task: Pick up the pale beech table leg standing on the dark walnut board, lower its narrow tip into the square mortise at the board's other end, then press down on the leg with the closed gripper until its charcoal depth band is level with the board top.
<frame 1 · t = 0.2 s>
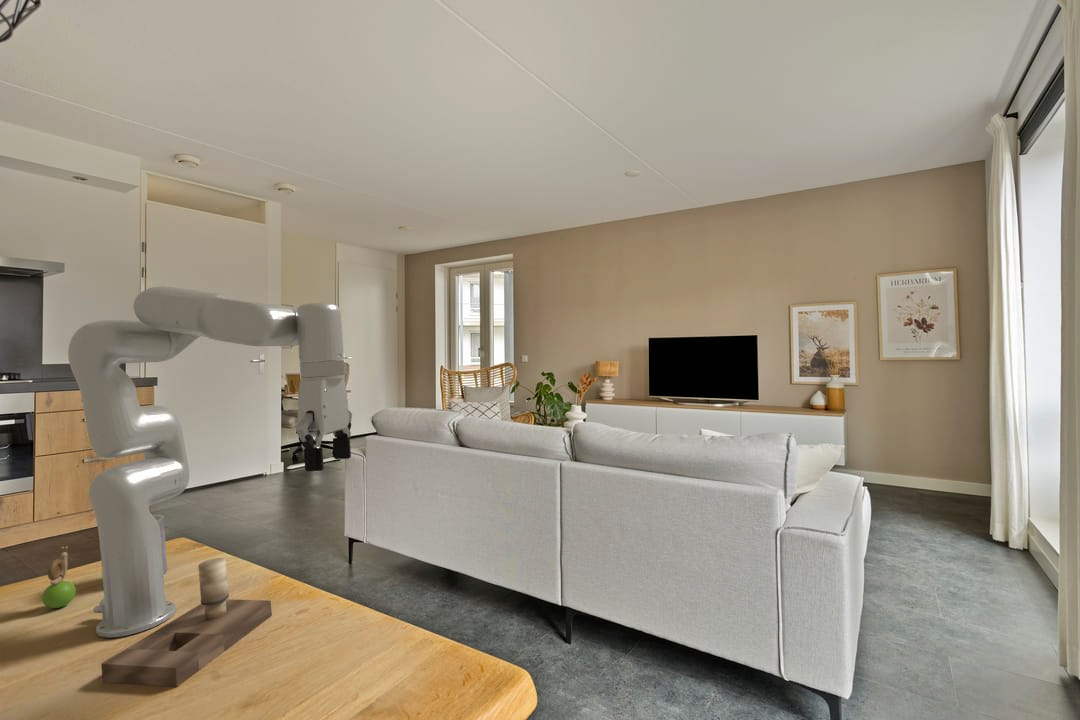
hand: (329, 464, 97), 31 cm above the table, tool pointing down, fingers open, 9 cm apart
pillar candle: (144, 577, 129), on the table
snail figurine: (61, 606, 115), on the table
walnut board: (195, 645, 95), on the table
beech leg: (216, 614, 100), point 3 cm above the table, touching walnut board
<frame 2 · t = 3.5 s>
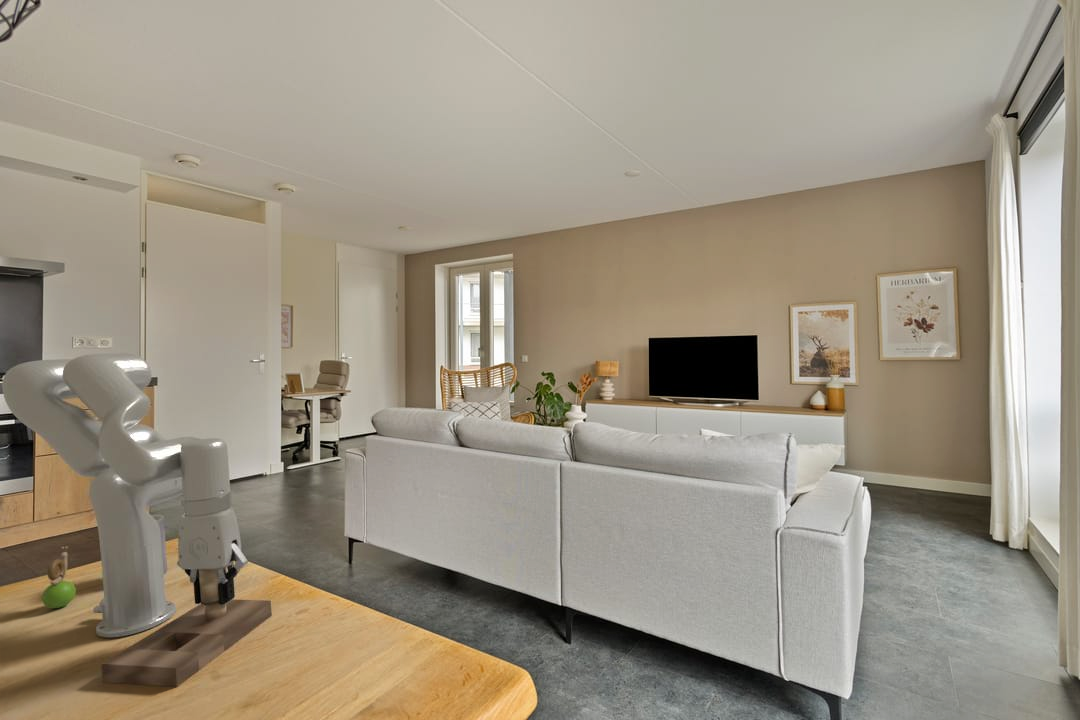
hand: (215, 599, 100), 6 cm above the table, tool pointing down, fingers closed on beech leg, 4 cm apart
beech leg: (216, 614, 100), point 3 cm above the table, touching gripper, walnut board
everything else where it was.
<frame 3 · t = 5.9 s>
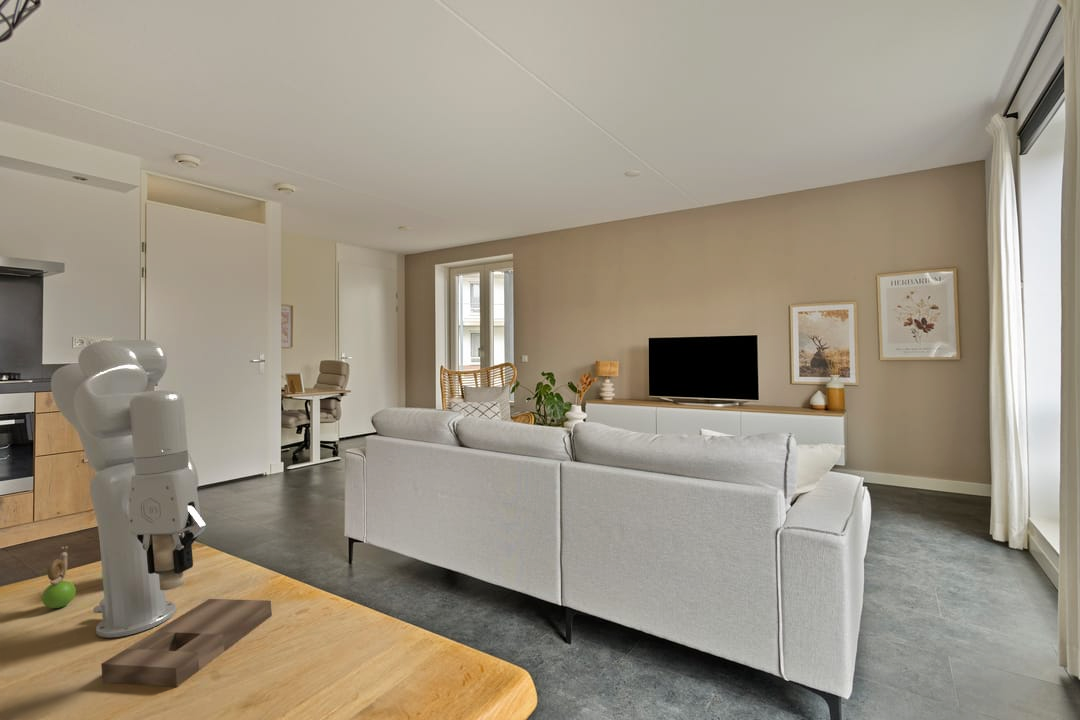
hand: (171, 569, 90), 16 cm above the table, tool pointing down, fingers closed on beech leg, 4 cm apart
beech leg: (172, 585, 90), point 13 cm above the table, touching gripper
everything else where it was.
when the fingers open (4 cm above the table, at t = 8.3 s): beech leg drops 1 cm, resting in walnut board.
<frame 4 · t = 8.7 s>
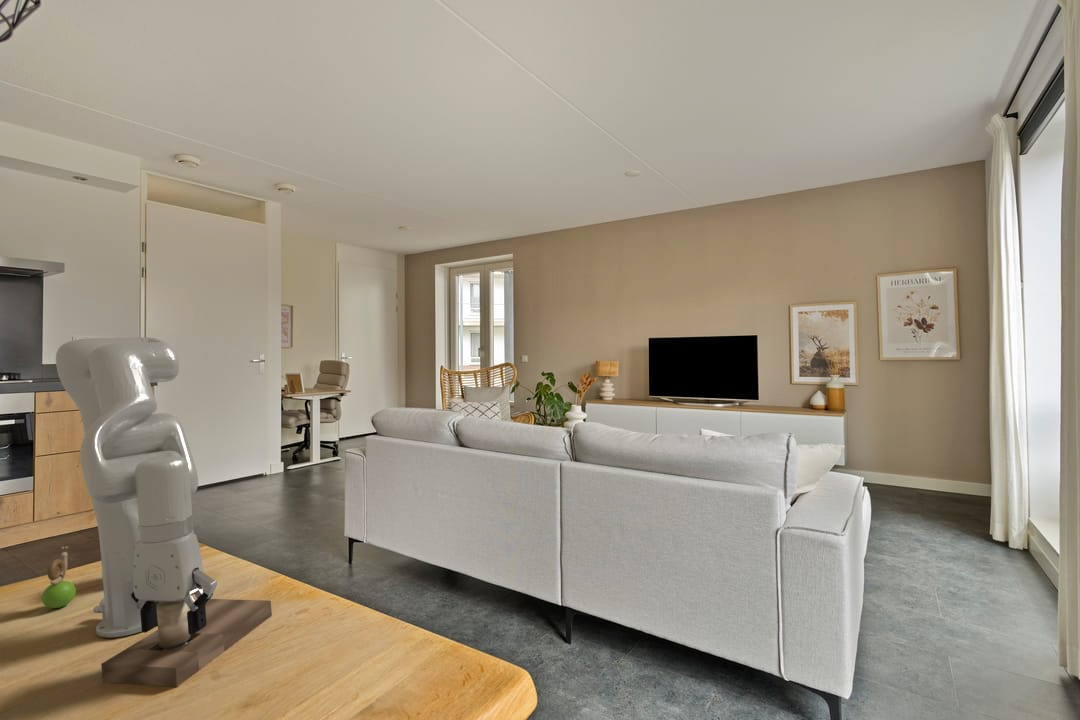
hand: (174, 629, 91), 5 cm above the table, tool pointing down, fingers open, 8 cm apart
beech leg: (176, 658, 91), resting in walnut board
everything else where it was.
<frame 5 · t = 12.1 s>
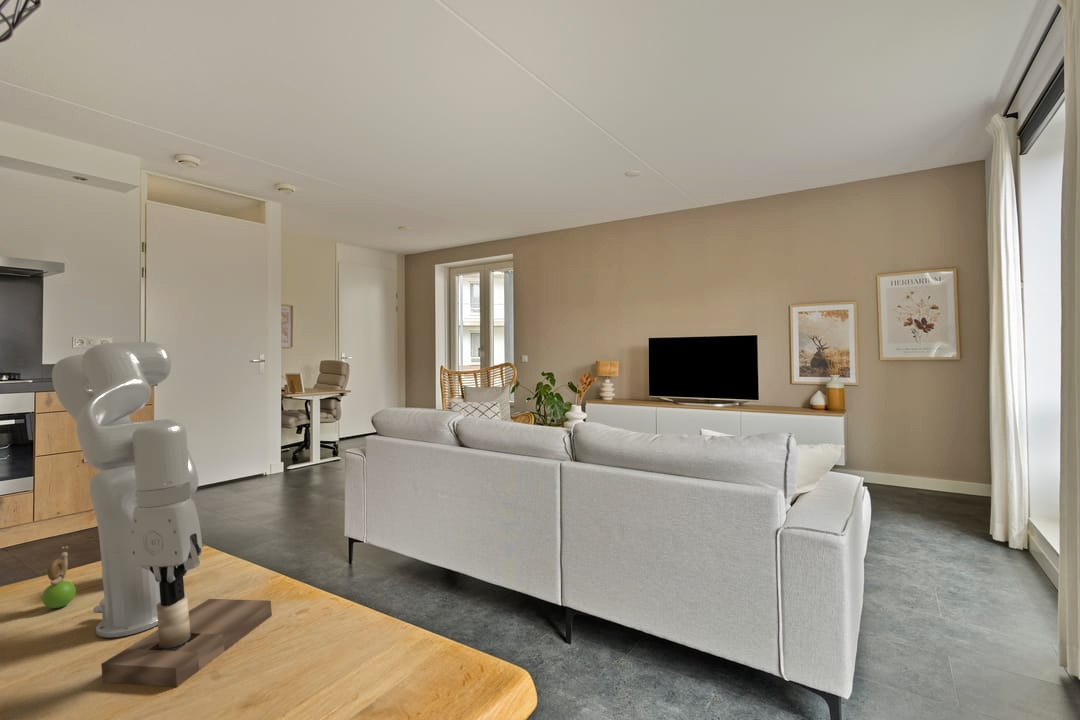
hand: (173, 601, 91), 10 cm above the table, tool pointing down, fingers closed
beech leg: (176, 658, 91), resting in walnut board, touching gripper
everything else where it was.
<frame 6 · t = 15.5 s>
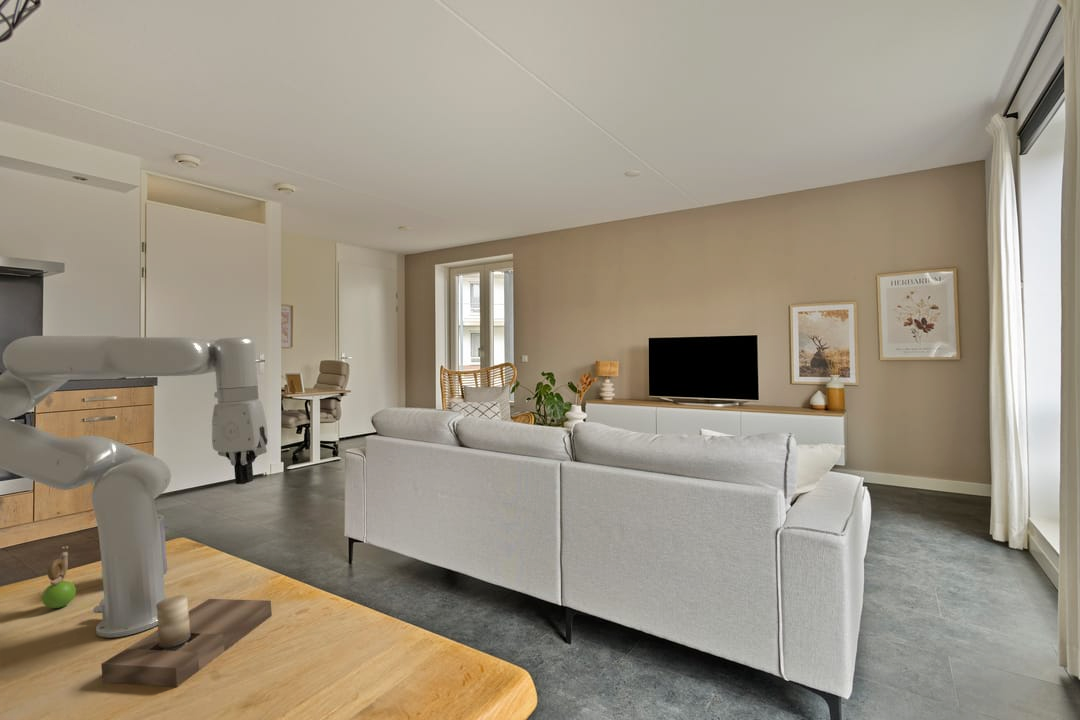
hand: (244, 482, 111), 25 cm above the table, tool pointing down, fingers closed
beech leg: (176, 658, 91), resting in walnut board
everything else where it was.
at the end: beech leg 0.1 cm from the target spot on the walnut board, point 0.0 cm above the walnut board's base; beech leg tilted 0°; the gripper is holding nothing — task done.
